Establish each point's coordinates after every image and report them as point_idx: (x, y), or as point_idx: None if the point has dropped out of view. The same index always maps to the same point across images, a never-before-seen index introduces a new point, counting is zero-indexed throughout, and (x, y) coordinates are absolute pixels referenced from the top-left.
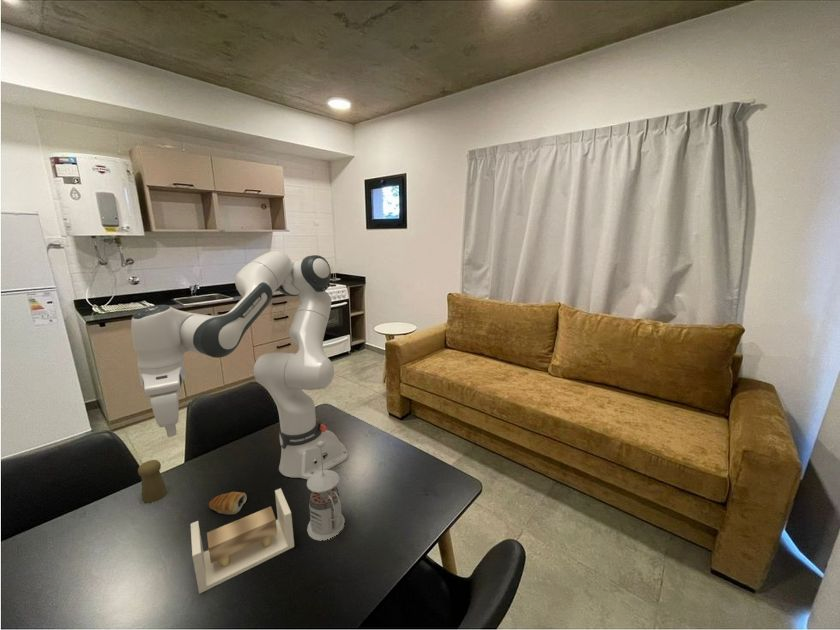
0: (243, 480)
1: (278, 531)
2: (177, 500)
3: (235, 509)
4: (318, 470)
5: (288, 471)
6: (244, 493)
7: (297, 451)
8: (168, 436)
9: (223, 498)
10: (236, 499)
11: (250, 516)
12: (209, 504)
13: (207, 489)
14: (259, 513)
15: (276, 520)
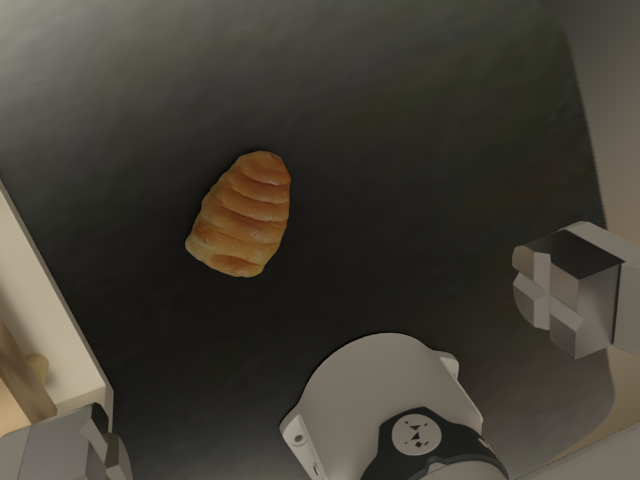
0: (362, 232)
1: None
2: (346, 9)
3: (192, 252)
4: (302, 453)
5: (326, 381)
6: (254, 275)
7: (343, 469)
8: (4, 440)
9: (243, 215)
10: (217, 264)
11: (2, 402)
12: (251, 155)
13: (365, 114)
14: (13, 427)
15: (101, 382)
